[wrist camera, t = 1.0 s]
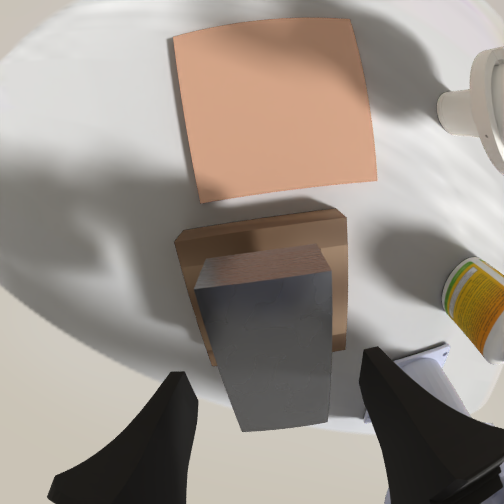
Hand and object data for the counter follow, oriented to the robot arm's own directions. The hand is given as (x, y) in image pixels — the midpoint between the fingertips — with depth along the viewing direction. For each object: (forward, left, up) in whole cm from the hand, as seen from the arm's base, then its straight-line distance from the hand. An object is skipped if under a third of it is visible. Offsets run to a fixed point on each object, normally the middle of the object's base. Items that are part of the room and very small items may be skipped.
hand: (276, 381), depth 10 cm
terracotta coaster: (+11, -2, -8) cm, 14 cm away
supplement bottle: (-3, -16, -8) cm, 18 cm away
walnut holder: (0, 0, -8) cm, 8 cm away
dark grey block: (0, 0, -8) cm, 8 cm away
